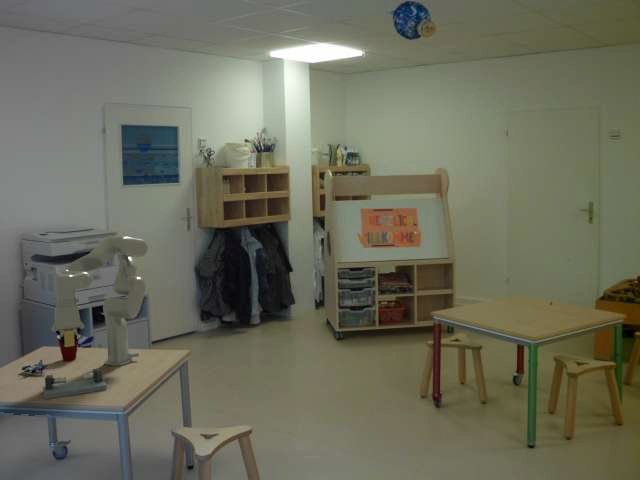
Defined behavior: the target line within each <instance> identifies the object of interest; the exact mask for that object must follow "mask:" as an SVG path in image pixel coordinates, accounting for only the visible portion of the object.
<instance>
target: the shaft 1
mask: <svg viewBox="0 0 640 480" xmlns="http://www.w3.org/2000/svg"><path fill="white" fill-rule="evenodd" d="M44 383H45V384H44V386H45V387H46V390H52V388H53V387H54V386H53V385H57V384H64V383H67V377H66V376H62V377H60V376H59V377H54V375H53V374H48V375H46V376H45V377H44Z"/></svg>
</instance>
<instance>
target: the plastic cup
mask: <svg viewBox="0 0 640 480" xmlns="http://www.w3.org/2000/svg"><path fill="white" fill-rule="evenodd" d="M56 338H57V340H58V345H59V348H60V354H61V355H62V356H61V358H62V360H63V362H72V361H75V360H76V358H77V353H78V345H79V342H80V341H79V340H80V338H81V334H79V333H78V334H77V342H76V344H75V346H69V347H65V346H63V345H62V344H61V340H60V336H59V335H58V334H57V336H56Z"/></svg>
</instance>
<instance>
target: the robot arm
mask: <svg viewBox="0 0 640 480" xmlns="http://www.w3.org/2000/svg"><path fill="white" fill-rule="evenodd" d="M148 250H149V249H148V243H147V242H146V241H145V240H144V239H141V238H134V237H129V236H123V235H108V236H106V237H104V238H103V239H102V240H100V242H99V243H98V245H97V246H96V247H94V248H93V250H91V252H89V253H88V254H85V255H84V256H81V257H80V258H77V259H75V260H74V261H72V262H71V263H69V264H68V265H67V266H66V267H65V268H64V269H63V271H62V272H61V273H60V274H57V276H56V277H55V293H56V306H55V307H54V323H53V325H52V327H51V328H50V331H51V332H53V333H55V334H57V336H58V335H59V336H60V340H61V344H62V345H63V346H64V345H65V343H64V335H63V331H64V329H72V328H73V330H74V342H75V344H76V342H77V334H78V335H79V332H81V330H82V329H84V328H85V327H86V325H85V324H84V323H83V322H82V320H81V317H80V311H79V306H78V304H77V303H80V299H79V298H76V290H80V289H81V290H83V289H86V288H88V287H90V285H91V284H92V280H93V277H92V276H91V274H90V273H89V272H91V271H95V270H98V269H101V268H104V267H105V266H106V264H108V262H109V261H110V260H111V259H112V258H113V257H114V256H115V255H116V256H117V260H118V268H117V272H116V276H115V278H114V282H113V284H112V291H113V293H114V294H116V295H117V296H111V297H108V298H106V299H105V300H104V302H103V305H102V310H103V315H104V318H105V319H104V320H105V328H106V329H105V330H106V346H107V347H106V349H107V350H106V351H107V359H105V360H104V364H105V365H107V366H113V367H116V366H118V367H119V366H125V365H129V364H131V363H132V362H133V358H137V357H140V354H139V352H135V351H134V352H133V351H132V352H130V351H129V343H128V342H129V340H128V339H129V337H128V324H127V321H126V319H134V318H135V317H137V316H138V314H139V313H140V310H141V307H142V306H141V305H142V303H143V300H144V297H145V294H146V289H147V288H146V287H147V286H146V282H145V280H144V279H143V278H142V277H140V276H136V274H137V269H138V267H137V266H138V265H137V263H136V261H135V259H134V258H142V257H144V256H146V255H147V253H148ZM121 296H122V297H121ZM123 296H125V297H123Z"/></svg>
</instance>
